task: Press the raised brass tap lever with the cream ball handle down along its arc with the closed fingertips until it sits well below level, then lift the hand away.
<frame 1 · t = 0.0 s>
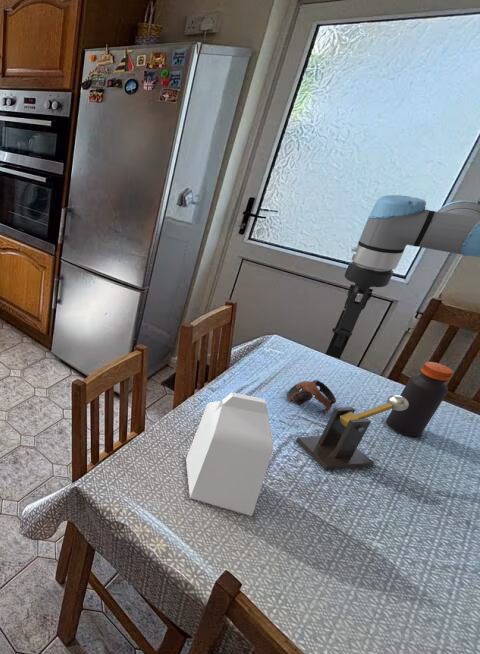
hand: (336, 344, 102), 25 cm above the table, tool pointing down, fingers open, 13 cm apart
bottle: (402, 428, 110), on the table
milk: (216, 486, 95), on the table
tap lever: (374, 411, 97), point 13 cm above the table, hinge at 25.0°
tap bracket: (332, 453, 103), on the table
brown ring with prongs: (304, 404, 119), on the table
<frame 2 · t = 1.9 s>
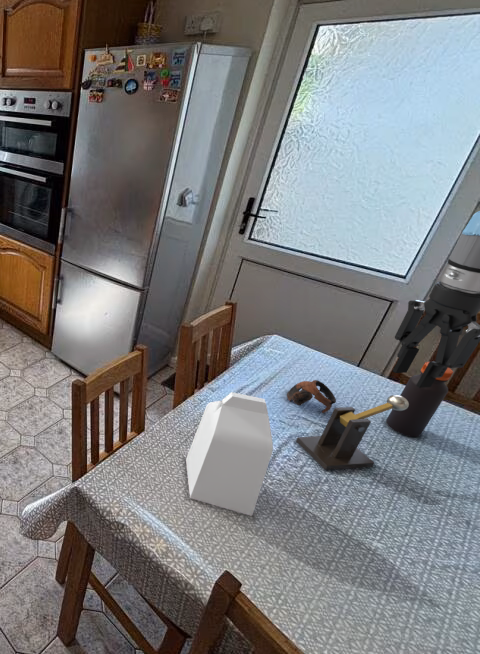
hand: (411, 378, 93), 23 cm above the table, tool pointing down, fingers open, 4 cm apart
nothing on the table moved.
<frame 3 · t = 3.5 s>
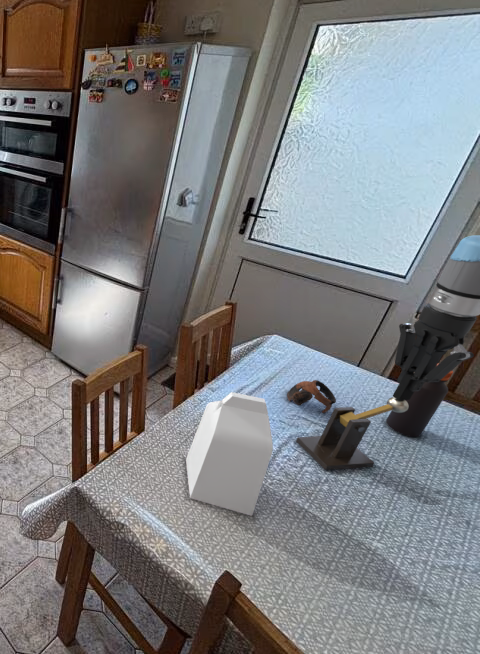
hand: (400, 397, 96), 17 cm above the table, tool pointing down, fingers closed
tap lever: (374, 412, 97), point 13 cm above the table, hinge at 21.6°, touching gripper
everything else where it was.
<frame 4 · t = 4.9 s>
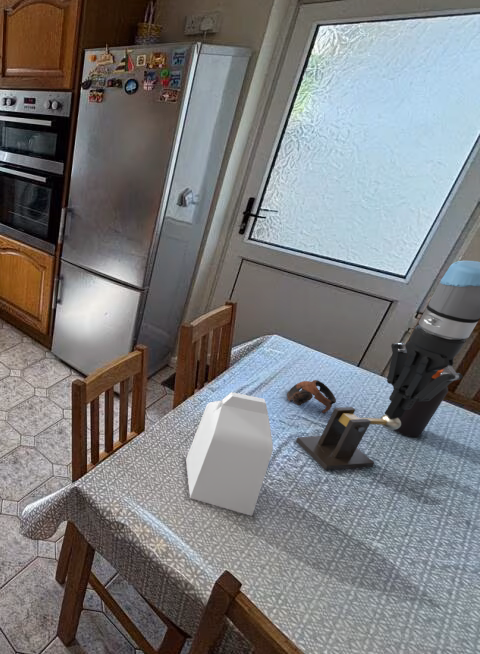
hand: (392, 415, 98), 12 cm above the table, tool pointing down, fingers closed
tap lever: (370, 421, 99), point 10 cm above the table, hinge at -7.1°
everything else where it was.
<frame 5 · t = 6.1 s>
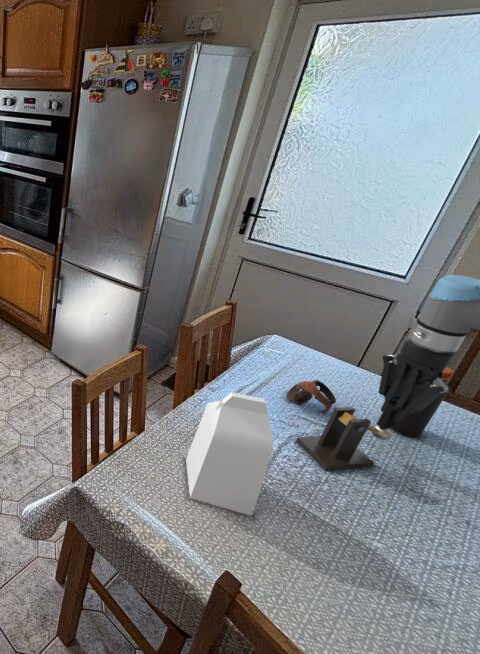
hand: (384, 425, 100), 8 cm above the table, tool pointing down, fingers closed
tap lever: (366, 426, 99), point 9 cm above the table, hinge at -24.7°, touching gripper
everything else where it was.
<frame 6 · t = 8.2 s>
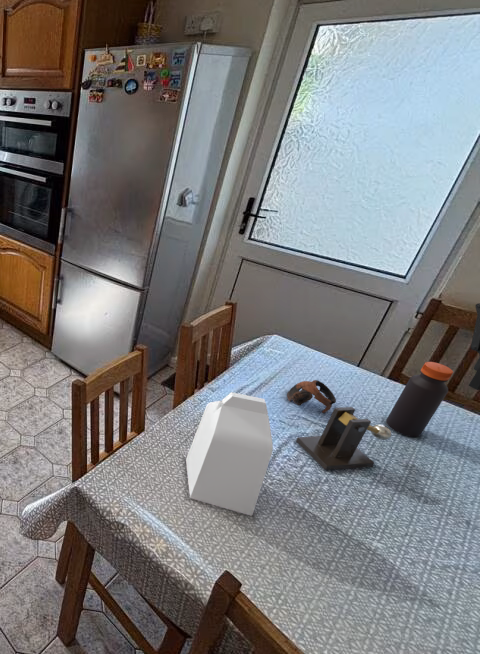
hand: (478, 387, 85), 26 cm above the table, tool pointing down, fingers closed
tap lever: (366, 426, 99), point 9 cm above the table, hinge at -24.8°
everything else where it was.
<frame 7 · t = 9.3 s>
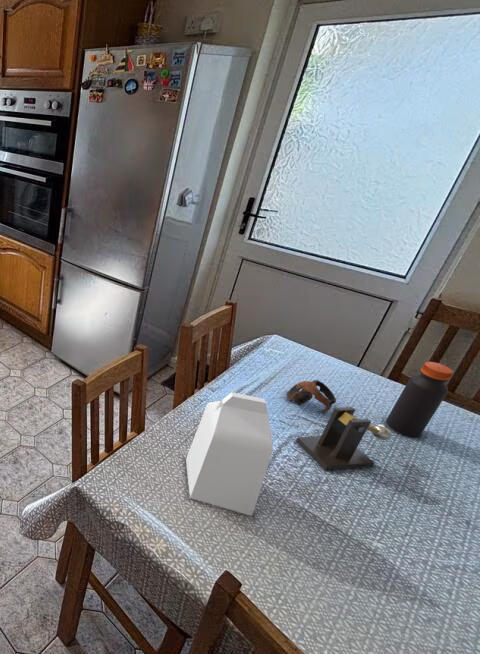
nothing on the table moved.
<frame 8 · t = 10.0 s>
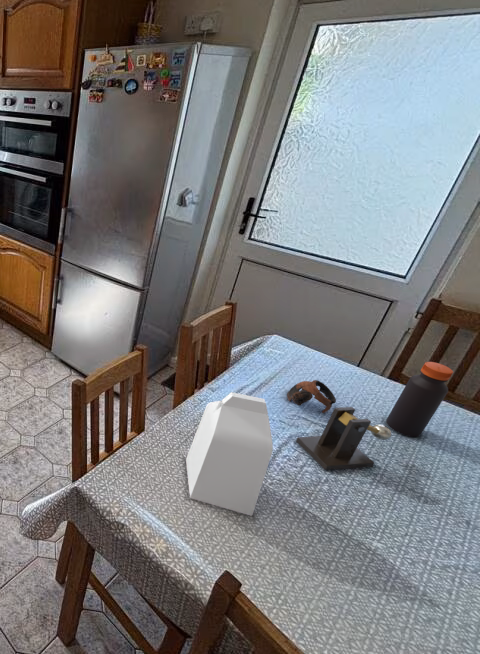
nothing on the table moved.
at the end: tap lever at -25° (first picture: +25°); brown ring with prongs moved 0.2 cm from its start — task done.
